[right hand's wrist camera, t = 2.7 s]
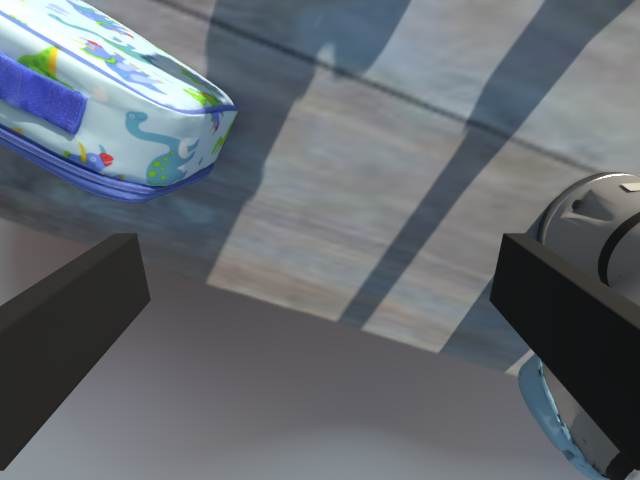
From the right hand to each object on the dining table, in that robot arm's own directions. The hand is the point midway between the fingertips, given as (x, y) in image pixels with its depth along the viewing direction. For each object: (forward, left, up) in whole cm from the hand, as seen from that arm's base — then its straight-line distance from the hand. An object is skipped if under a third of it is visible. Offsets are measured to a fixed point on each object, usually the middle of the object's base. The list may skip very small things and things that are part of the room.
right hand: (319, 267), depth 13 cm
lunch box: (+11, +21, -33) cm, 40 cm away
